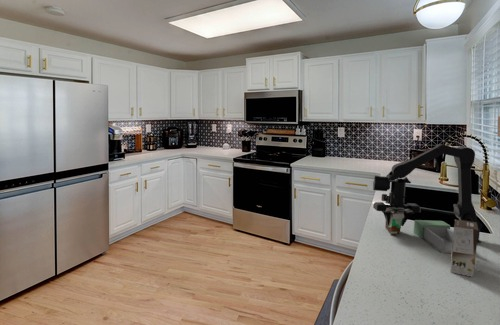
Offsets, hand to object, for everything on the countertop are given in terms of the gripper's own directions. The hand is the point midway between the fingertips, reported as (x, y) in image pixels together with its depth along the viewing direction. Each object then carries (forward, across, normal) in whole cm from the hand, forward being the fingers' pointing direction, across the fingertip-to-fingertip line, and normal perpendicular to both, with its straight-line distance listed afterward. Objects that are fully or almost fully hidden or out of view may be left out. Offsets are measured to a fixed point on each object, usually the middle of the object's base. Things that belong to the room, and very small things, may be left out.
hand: (395, 225), depth 134 cm
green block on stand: (+3, -14, +11) cm, 18 cm away
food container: (+3, 0, 0) cm, 3 cm away
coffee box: (+3, -9, +34) cm, 35 cm away
